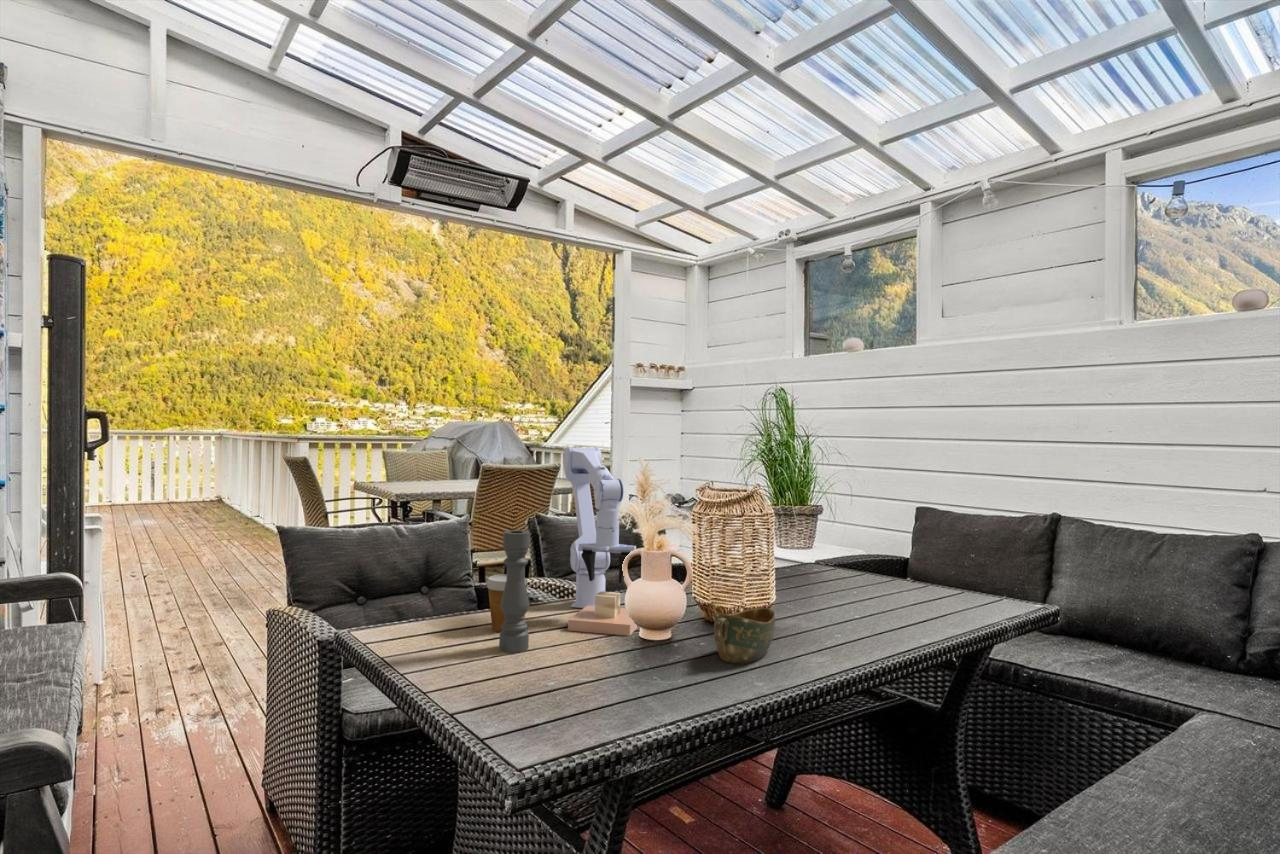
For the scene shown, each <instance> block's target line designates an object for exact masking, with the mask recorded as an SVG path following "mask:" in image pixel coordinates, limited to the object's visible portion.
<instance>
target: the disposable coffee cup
mask: <svg viewBox="0 0 1280 854" xmlns="http://www.w3.org/2000/svg"><path fill="white" fill-rule="evenodd" d="M506 579H507V573H506V574H502V573H501V574H495V575H491V576H489V577H488V578H487V581H486V582H485V585H486V588H487V589H488V599H489V609H490V619H491V621H490V622H491V630H492V631H494V632H499V633H500V632H501V631H503V630H502V629H501V625H502V624H503V622H504V621H505V620H506V619H505V618H504V616H505V615H504V613H503V612H502V610H501V607H500V605H501V600H502V596H503V592H504V588H505V584H506ZM525 584H526V586H527V585H528V582H527V581H526V579H525Z"/></svg>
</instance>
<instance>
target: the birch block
mask: <svg viewBox="0 0 1280 854" xmlns="http://www.w3.org/2000/svg"><path fill="white" fill-rule="evenodd" d="M620 608H621V592H615V591H614V592H613V591H605V592H602V591H601V592H599V593H598V594H597V595H595V617H606V618H615V617H616V616H617V615H619V614H620Z"/></svg>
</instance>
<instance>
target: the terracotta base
mask: <svg viewBox="0 0 1280 854" xmlns="http://www.w3.org/2000/svg"><path fill="white" fill-rule="evenodd" d="M626 608H627V607H625V608H624V607H620V614H619V615H617V616H616V617H615V618H606V617H595V606H589V605H587V606H586V607H584V608H581V609H580V610H579V611H578V612H576V613H575V614H574V615H573V616H571V617H569V619H568V623H567V624H568V625H567V630H568V631H574V632H581V633H594V634H606V635H615V636H616V635H617V636H628V637H630V636H631V635H632V634H633V633H634V632H635V631H636V629H638V627H637V625H636V624H635V623H634V621H633V620H632V619H631V618H630V617H629V615H628V613H627V611H626Z"/></svg>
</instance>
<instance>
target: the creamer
mask: <svg viewBox="0 0 1280 854" xmlns="http://www.w3.org/2000/svg"><path fill="white" fill-rule="evenodd" d="M713 623H714V624H713V637H714V643H715V647H716V650H717V653H718V655H719V657H720V659H721V660H722V661H723V662H727V663H731V664H738V665H739V664H741V665H742V664H745V665H746V664H750V663H754V662H756V661H758V660H759V661H760V660H761V659H763V658H765V656H766V655H767V653H768V650H769V648H770V646H772V645H771V644H772V642H773V639H774V638H773V637H774V634H775V627H776V626H775V625H776V613H775V611H774V610H773V609H770V608H768V607H755V608H751V609H746V610H741V611H738V612H735V613H729V614H725V613H721V612H719V613H718V612H716V613H715V615H714V622H713Z"/></svg>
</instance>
